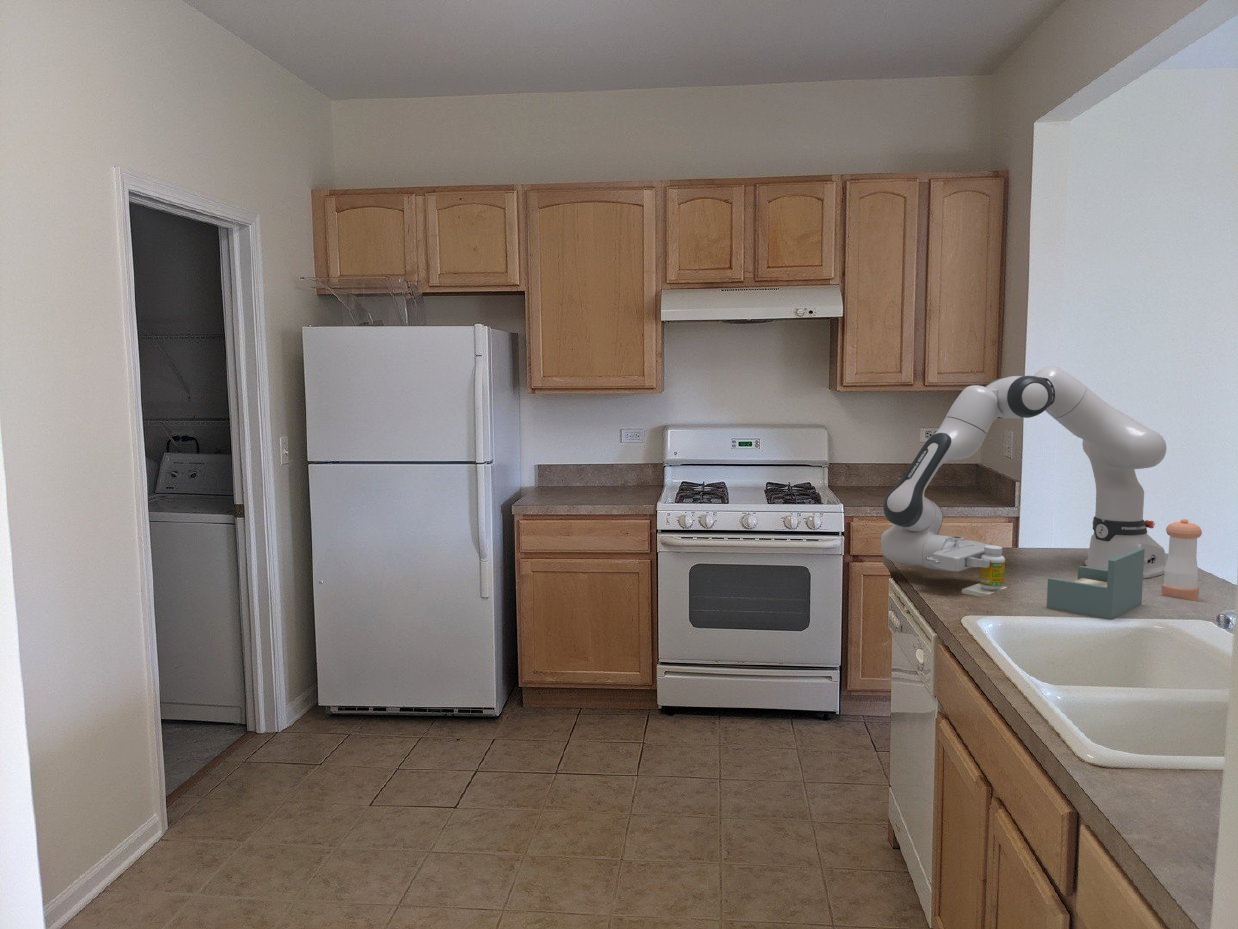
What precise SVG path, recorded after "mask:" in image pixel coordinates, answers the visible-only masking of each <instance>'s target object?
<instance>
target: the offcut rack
mask: <svg viewBox="0 0 1238 929" xmlns="http://www.w3.org/2000/svg"><path fill="white" fill-rule="evenodd" d="M1144 553H1145V549H1142V548H1138V549H1135V550H1133V551H1130V552H1128V553H1125V554H1123V555H1120V556H1118V557H1115V558H1113V559H1110V560H1108V570H1104V569H1097V568H1091V567H1086V566H1082V565H1080V566H1079V565H1078V570H1077V580H1078V579H1081V578H1085V579H1091V580H1097V581H1103V582H1107V587H1104V586H1098V585H1092V584H1085V583H1079V582H1073V581H1074V580H1073V581H1071V580H1066V579H1059V578H1053V577H1049V578H1047V591H1046V592H1047V593H1046V608H1047V609H1051V610H1057V611H1060V612H1066V613H1073V614H1077V615H1082V616H1089V617H1093V618H1098V619H1104V620H1110V621H1112V620H1114V619H1116V618H1119V617H1120V616H1122V615H1123V614H1126V613H1128V612H1129V611H1131V610H1133V609H1135V608H1137V607H1139V606H1141V605H1142V602H1143V601H1142V599H1143V584H1144V582H1143V581H1144V578H1143V570H1144Z"/></svg>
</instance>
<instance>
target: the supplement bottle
mask: <svg viewBox="0 0 1238 929" xmlns="http://www.w3.org/2000/svg"><path fill="white" fill-rule="evenodd" d="M984 552H985V554H984V555H982V556H981V559H988V560H991V567H988V568H984V567H979V568H980V570H979V572H980V574H979V583H980V586H982V587H984V588H990V589H1001V588H1003V587H1005V569H1006V568H1005V567H1006V558H1005V556H1004V557H1003V555H1002V554H1003V547H1001V546H1000V545H992V544H989V545H987V546H984ZM1001 555H1002V556H1001Z"/></svg>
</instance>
